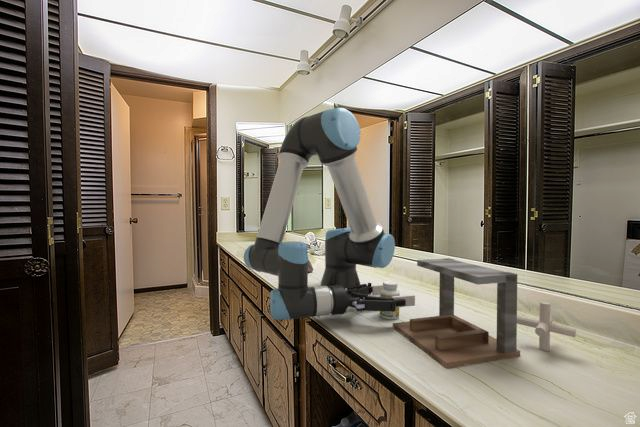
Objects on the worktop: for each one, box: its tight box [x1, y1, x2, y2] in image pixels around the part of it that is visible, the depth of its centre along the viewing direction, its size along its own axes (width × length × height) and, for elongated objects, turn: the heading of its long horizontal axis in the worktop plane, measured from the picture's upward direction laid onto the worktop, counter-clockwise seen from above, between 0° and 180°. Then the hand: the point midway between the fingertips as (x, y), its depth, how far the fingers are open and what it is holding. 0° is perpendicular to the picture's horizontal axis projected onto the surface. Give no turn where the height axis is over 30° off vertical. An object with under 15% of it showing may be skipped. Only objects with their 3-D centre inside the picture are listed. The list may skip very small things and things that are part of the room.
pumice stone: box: [308, 259, 314, 273], centre depth 143 cm, size 15×8×10 cm, turn 26°
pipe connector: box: [517, 301, 577, 352], centre depth 63 cm, size 10×10×10 cm
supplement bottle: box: [379, 280, 401, 320], centre depth 82 cm, size 5×5×10 cm
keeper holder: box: [392, 257, 521, 369], centre depth 67 cm, size 20×18×17 cm
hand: (402, 294), depth 83 cm, fingers open, 11 cm apart
